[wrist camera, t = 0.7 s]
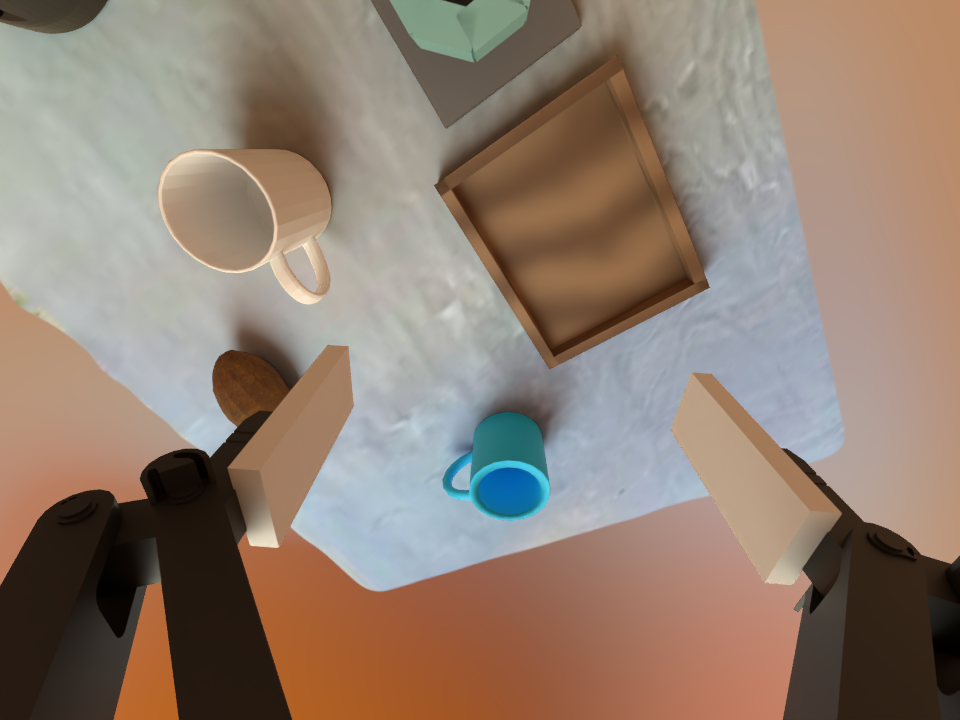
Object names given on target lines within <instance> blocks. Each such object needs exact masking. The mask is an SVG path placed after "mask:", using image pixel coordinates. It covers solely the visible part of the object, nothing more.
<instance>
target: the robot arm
mask: <svg viewBox="0 0 960 720" xmlns="http://www.w3.org/2000/svg"><path fill="white" fill-rule="evenodd" d="M106 2H107V0H0V22H2V23H5V24H9V25H13V26H17V27H21V28H24V29H28V30H32V31H36V32H42V33H65V32H70V31H73V30H76V29H79V28H81V27H83V26H84V25H86V24H87V23H89V22H90V21H91V20H93V19H94V18H95V17H96V16H97V15H98V14H99V12H100V11H101V10H102V8H103V7H104V5H105V3H106ZM353 407H354V404H353V394H352V383H351V372H350V361H349V350H348V346H335V345H328V346H327V347H326V348H325V349H324V350H323V352H322V353H321V354H320V355H319V357H318V358H317V359H316V360H315V361H314V363H313V364H312V365H311V366H310V368H309V369H308V370H307V371H306V372H305V374H304V375H303V376H302V377H301V379H300V380H299V381H298V382H297V383H296V385H295V386H294V387H293V388H292V390H291V391H290V392H289V393H288V394H287V396H286V397H285V398H284V399H283V401H282V402H281V403H280V404H279V405H278V407H277V408H276V409H275V410H274V411H261V410H260V411H258V412H256V413H255V414H253V415H251V416H250V417H248V418H246V419H245V420H244V421H243V422H242V423H241V424H240V425H239V426H238V427H237V428H236V430H235V431H234V433H232V434H231V435H230V436H229V437H228V438H227V440H226V442H225V443H223V444H222V445H221V446H220V447H219V448H218V450H217V451H216V452H215V453H214V454H213V455H212V456H211V457H210V458H209V456H208V455H207V453H206V452H205V451H202V450H199V449H182V450H177V451H173V452H170V453H168V454H165V455H163V456H160V457H159V458H157V459H156V460H154V461H152V462H151V463H150V464H148V466H147V467H146V468H145V469H144V470H143V471H142V474H141V477H140V481H141V483H142V485H143V488H144V490H145V492H146V494H147V497H148V499H143V500H137V501H131V502H125V503H117V501H116V499H115V497H114V495H113V494H111V493H110V492H109V491H104V490H90V491H85V492H81V493H78V494H75V495H72V496H70V497H68V498H66V499H63V500H61V501H59V502H57V503H56V504H55V505H53V506H52V507H50V508H49V509H48V510H46V511H45V512H44V513H43V515H42V516H41V517H40V518H39V519H38V520H37V522H36V524H35V526H34V527H33V529H32V531H31V533H30V534H29V536H28V538H27V540H26V541H25V543H24V545H23V547H22V548H21V550H20V552H19V554H18V556H17V558H16V559H15V561H14V563H13V564H12V566H11V568H10V570H9V572H8V573H7V575H6V577H5V578H4V580H3V582H2V584H1V585H0V720H113V719H114V715H115V711H116V707H117V703H118V699H119V695H120V691H121V687H122V683H123V679H124V675H125V671H126V667H127V663H128V659H129V655H130V651H131V647H132V643H133V639H134V635H135V631H136V627H137V623H138V619H139V615H140V611H141V607H142V603H143V599H144V595H145V591H146V588H147V585H150V584H154V583H159V582H161V584H162V592H163V599H164V607H165V614H166V622H167V630H168V638H169V645H170V654H171V661H172V669H173V677H174V685H175V692H176V700H177V708H178V716H179V720H292V717H291V714H290V711H289V708H288V705H287V701H286V698H285V695H284V692H283V689H282V686H281V682H280V679H279V676H278V673H277V670H276V666H275V663H274V660H273V657H272V654H271V651H270V647H269V644H268V641H267V638H266V635H265V632H264V629H263V625H262V622H261V619H260V616H259V612H258V609H257V606H256V603H255V600H254V597H253V593H252V590H251V587H250V584H249V581H248V578H247V574H246V571H245V568H244V565H243V562H242V558H241V555H240V552H239V549H238V546H237V544H238V543H239V541H240V539H241V538H242V536H243V535H244V533H245V532H246V533H247V537H248V540H249V543H250V545H251V546H263V547H276V548H279V546H280V544H281V542H282V541H283V539H284V537H285V535H286V533H287V531H288V529H289V527H290V526H291V524H292V522H293V520H294V518H295V516H296V514H297V512H298V510H299V509H300V507H301V505H302V503H303V501H304V499H305V497H306V495H307V493H308V492H309V490H310V488H311V486H312V484H313V482H314V480H315V478H316V477H317V475H318V473H319V471H320V469H321V467H322V465H323V463H324V461H325V460H326V458H327V456H328V454H329V452H330V450H331V448H332V446H333V444H334V443H335V441H336V439H337V437H338V435H339V433H340V431H341V429H342V427H343V426H344V424H345V422H346V420H347V418H348V416H349V414H350V412H351V410H352V409H353ZM671 432H672V433H673V435H674V437H675V438H676V440H677V441H678V443H679V445H680V446H681V448H682V450H683V451H684V453H685V454H686V456H687V458H688V459H689V461H690V463H691V464H692V466H693V468H694V469H695V471H696V472H697V474H698V476H699V477H700V479H701V481H702V482H703V484H704V485H705V487H706V489H707V490H708V492H709V494H710V495H711V497H712V498H713V500H714V502H715V503H716V505H717V506H718V508H719V510H720V511H721V513H722V515H723V516H724V518H725V520H726V521H727V523H728V525H729V526H730V528H731V529H732V531H733V533H734V534H735V536H736V537H737V539H738V541H739V542H740V544H741V546H742V547H743V549H744V550H745V552H746V554H747V555H748V557H749V559H750V560H751V562H752V563H753V565H754V567H755V569H756V570H757V572H758V573H759V575H760V577H761V578H762V580H763V581H764V583H773V584H787V585H793V583H794V582H795V580H796V579H797V578H798V576H799V575H800V573H801V572H802V570H803V571H804V572H805V573H806V575H807V576H808V578H809V579H810V580H811V582H812V584H811V586H810V587H809V588H808V590H807V591H806V592H805V594H804V595H803V596H802V598H801V599H800V600H799V602H798V603H797V605H796V606H795V608H794V610H795V611H797V612H799V610H800V609H801V608H803V612H802V617H801V623H800V628H799V634H798V639H797V645H796V650H795V656H794V662H793V667H792V673H791V678H790V683H789V689H788V694H787V700H786V706H785V711H784V717H783V720H960V556H959V557H958V558H957V559H956V560H955V561H954V562H953V563H952V564H949V563H946V562H943V561H939V560H936V559H933V558H930V557H926V556H923V555H921V554H920V553H919V552H918V551H917V550H916V548H915V547H914V546H913V545H912V544H911V543H909V542H908V541H907V540H905V539H904V538H902V537H901V536H900V535H898V534H896V533H894V532H892V531H891V530H889V529H887V528H884V527H882V526H879V525H876V524H873V523H866V522H863V521H862V519H861V518H860V517H859V516H858V515H857V514H856V513H855V512H854V511H853V510H852V509H851V508H850V507H849V506H848V505H847V504H846V503H845V502H844V501H843V500H842V499H841V498H840V497H839V496H838V495H837V494H836V493H835V492H834V491H833V490H832V489H831V488H830V487H829V486H827V485H826V482H824V480H823V479H821V477H820V476H817V475H816V472H815V471H814V470H813V469H812V468H811V467H810V466H809V465H808V464H807V463H806V462H805V461H804V460H803V459H801V458H800V457H798V456H797V455H795V454H794V453H792V452H791V451H789V450H788V449H783V448H780V447H779V446H778V444H777V443H776V442H775V441H774V440H773V439H772V438H771V437H770V436H769V435H768V434H767V433H766V432H765V431H764V430H763V428H762V427H761V426H760V425H759V424H758V423H757V422H756V421H755V420H754V419H753V418H752V417H751V416H750V415H749V414H748V412H747V411H746V410H745V409H744V408H743V407H742V406H741V405H740V404H739V403H738V402H737V401H736V400H735V399H734V398H733V397H732V395H731V394H730V393H729V392H728V391H727V390H726V389H725V388H724V387H723V386H722V385H721V384H720V383H719V382H718V381H717V379H716V378H715V377H714V376H713V375H712V374H705V373H691V375H690V378H689V381H688V383H687V386H686V389H685V392H684V394H683V397H682V400H681V403H680V405H679V408H678V411H677V414H676V416H675V419H674V422H673V425H672V427H671Z"/></svg>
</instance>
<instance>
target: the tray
mask: <svg viewBox="0 0 960 720" xmlns="http://www.w3.org/2000/svg"><path fill="white" fill-rule="evenodd" d="M434 186H435V188H436V189H437V191H438V193H439V194H440V196H441V197H442V199H443V200H444V202H445V204H446V205H447V207H448V208H449V210H450V212H451V213H452V215H453V216H454V218H455V220H456V221H457V223H458V224H459V226H460V228H461V229H462V231H463V232H464V234H465V235H466V237H467V239H468V240H469V242H470V243H471V245H472V247H473V248H474V250H475V251H476V253H477V255H478V256H479V258H480V259H481V261H482V262H483V264H484V266H485V267H486V269H487V270H488V272H489V274H490V275H491V277H492V278H493V280H494V282H495V283H496V285H497V286H498V288H499V290H500V291H501V293H502V294H503V296H504V297H505V299H506V301H507V302H508V304H509V305H510V307H511V309H512V310H513V312H514V313H515V315H516V317H517V318H518V320H519V321H520V323H521V325H522V326H523V328H524V329H525V331H526V332H527V334H528V336H529V337H530V339H531V340H532V342H533V344H534V345H535V347H536V348H537V350H538V352H539V353H540V355H541V356H542V358H543V359H544V361H545V363H546V364H547V366H548V367H549V369H551V368H553V367H555V366H557V365H559V364H561V363H563V362H565V361H567V360H569V359H571V358H573V357H575V356H577V355H579V354H581V353H583V352H584V351H586V350H588V349H590V348H592V347H594V346H596V345H598V344H600V343H602V342H604V341H606V340H608V339H610V338H612V337H614V336H616V335H618V334H620V333H622V332H624V331H626V330H628V329H630V328H632V327H634V326H635V325H637V324H639V323H641V322H643V321H645V320H647V319H649V318H651V317H653V316H655V315H657V314H659V313H661V312H663V311H665V310H667V309H669V308H671V307H673V306H675V305H677V304H679V303H681V302H683V301H685V300H686V299H688V298H690V297H692V296H694V295H696V294H698V293H700V292H702V291H704V290H706V289H708V288H710V287H709V284H708V282H707V279H706V277H705V274H704V272H703V269H702V267H701V264H700V262H699V259H698V257H697V254H696V251H695V249H694V246H693V244H692V241H691V239H690V236H689V234H688V231H687V229H686V226H685V224H684V221H683V219H682V216H681V214H680V211H679V209H678V206H677V204H676V201H675V199H674V196H673V194H672V191H671V189H670V186H669V184H668V181H667V178H666V176H665V173H664V171H663V168H662V166H661V163H660V161H659V158H658V156H657V153H656V151H655V148H654V146H653V143H652V141H651V138H650V136H649V133H648V131H647V128H646V126H645V123H644V121H643V118H642V116H641V113H640V111H639V108H638V105H637V103H636V100H635V98H634V95H633V93H632V90H631V88H630V85H629V83H628V80H627V78H626V75H625V73H624V70H623V68H622V65H621V63H620V60H619V58H618V55H616V56H615V57H614V58H612V59H611V60H609V61H608V62H606V63H605V64H604V65H602V66H601V67H599V68H598V69H597V70H595V71H594V72H592V73H591V74H590V75H588V76H587V77H585V78H584V79H583V80H581V81H580V82H578V83H577V84H576V85H574V86H573V87H571V88H570V89H569V90H567V91H566V92H564V93H563V94H562V95H560V96H559V97H557V98H556V99H555V100H553V101H552V102H550V103H549V104H548V105H546V106H545V107H543V108H542V109H541V110H539V111H538V112H536V113H535V114H534V115H532V116H531V117H529V118H528V119H526V120H525V121H524V122H522V123H521V124H519V125H518V126H517V127H515V128H514V129H512V130H511V131H510V132H508V133H507V134H505V135H504V136H503V137H501V138H500V139H498V140H497V141H496V142H494V143H493V144H491V145H490V146H489V147H487V148H486V149H484V150H483V151H482V152H480V153H479V154H477V155H476V156H475V157H473V158H472V159H470V160H469V161H468V162H466V163H465V164H463V165H462V166H461V167H459V168H458V169H456V170H455V171H454V172H452V173H451V174H449V175H448V176H446V177H445V178H444V179H442V180H441V181H439V182H438V183H437V184H435V185H434Z"/></svg>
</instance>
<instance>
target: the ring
mask: <svg viewBox="0 0 960 720" xmlns="http://www.w3.org/2000/svg"><path fill="white" fill-rule="evenodd" d="M530 1H531V0H474V1H472V2H471V3H470V4H469V5H468V6H466V7H465V6H462V5H458V4H454V3H451V2H447V1H443V0H390V2H391V4H392V5H393V7H394V9H395V11H396V12H397V14H398V16H399V18H400V19H401V21H402V23H403V25H404V26H405V28H406V30H407V32H408V33H409V35H410V36H411V38H412V39H413V40H414V41H415V43H416V44H417V45H418V46H419V47H420V48H421V49H425V50H429V51H432V52H436V53H440V54H444V55H447V56H451V57H455V58H459V59H462V60H466V61H470V62H474V59H476V61H479V60H480V59H481V58H483V57H484V56H485V55H486V54H488V53H489V52H490V51H491V50H493V49H494V48H495V47H496V46H498V45H499V44H500V43H502V42H503V41H504V40H505V39H507V38H508V37H509V36H510V35H512V34H513V33H514V32H516V31H517V30H518V29H519V28H521V27H522V26H523V25H524V22H525V21H526V19H527V15H528V10H529V5H530Z"/></svg>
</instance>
